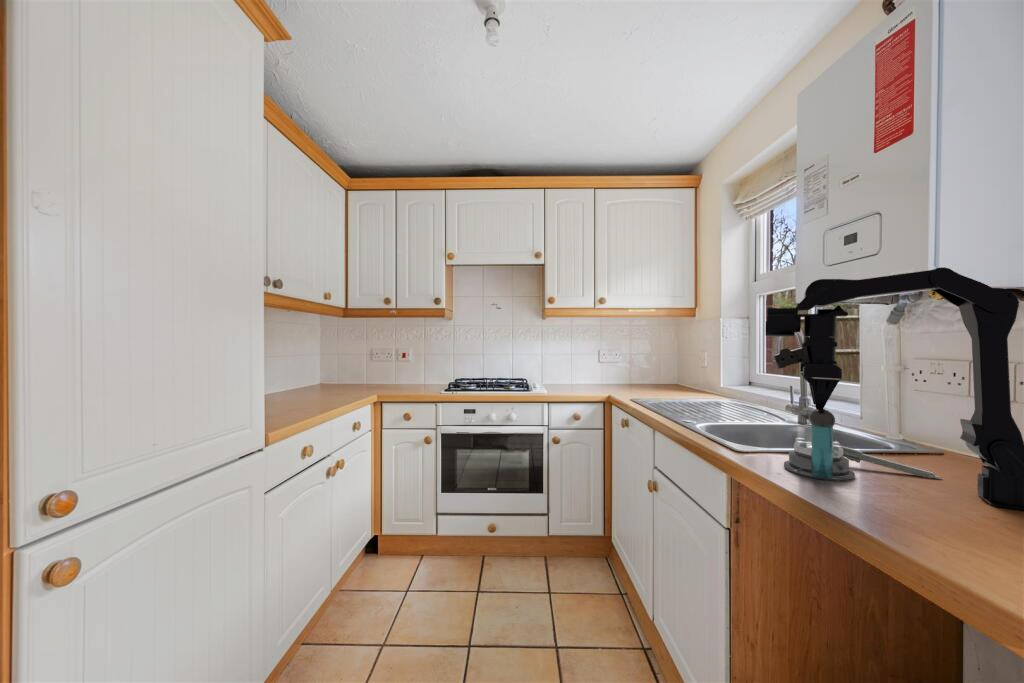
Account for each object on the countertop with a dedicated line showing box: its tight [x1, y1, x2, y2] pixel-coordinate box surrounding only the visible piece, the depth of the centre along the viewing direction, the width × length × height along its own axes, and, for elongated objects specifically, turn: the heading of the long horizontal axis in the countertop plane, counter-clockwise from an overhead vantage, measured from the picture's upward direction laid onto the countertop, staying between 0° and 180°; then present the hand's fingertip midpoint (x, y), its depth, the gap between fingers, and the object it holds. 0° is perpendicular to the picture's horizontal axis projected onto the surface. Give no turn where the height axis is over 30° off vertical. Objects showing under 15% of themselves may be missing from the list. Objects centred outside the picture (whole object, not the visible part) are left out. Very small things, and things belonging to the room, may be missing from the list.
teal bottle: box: [793, 408, 843, 479], centre depth 90 cm, size 9×16×14 cm, turn 147°
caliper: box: [834, 440, 943, 480], centre depth 94 cm, size 20×1×6 cm, turn 54°
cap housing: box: [783, 449, 856, 482], centre depth 93 cm, size 13×13×4 cm
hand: (817, 407), depth 90 cm, fingers open, 8 cm apart
